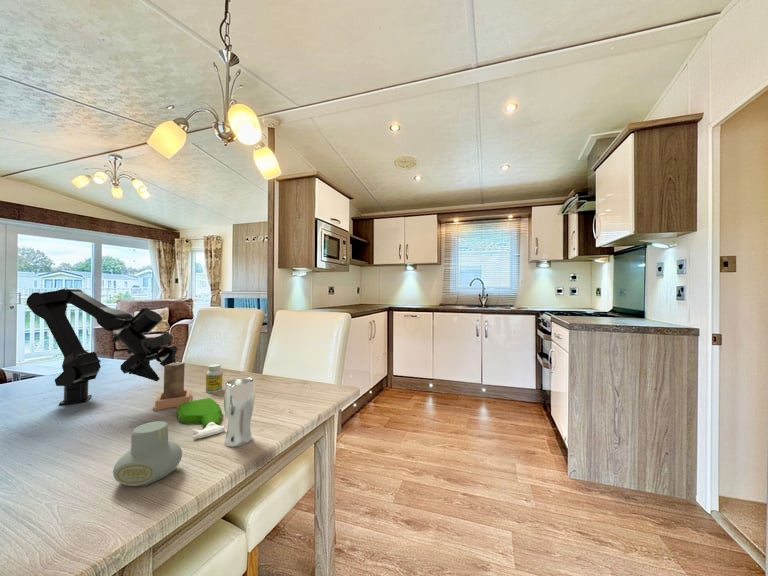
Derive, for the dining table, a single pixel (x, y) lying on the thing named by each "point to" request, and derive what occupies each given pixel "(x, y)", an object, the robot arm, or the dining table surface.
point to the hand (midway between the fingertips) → (168, 376)
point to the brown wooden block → (174, 380)
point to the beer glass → (238, 410)
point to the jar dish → (171, 401)
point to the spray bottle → (202, 416)
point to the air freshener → (148, 456)
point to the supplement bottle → (214, 379)
